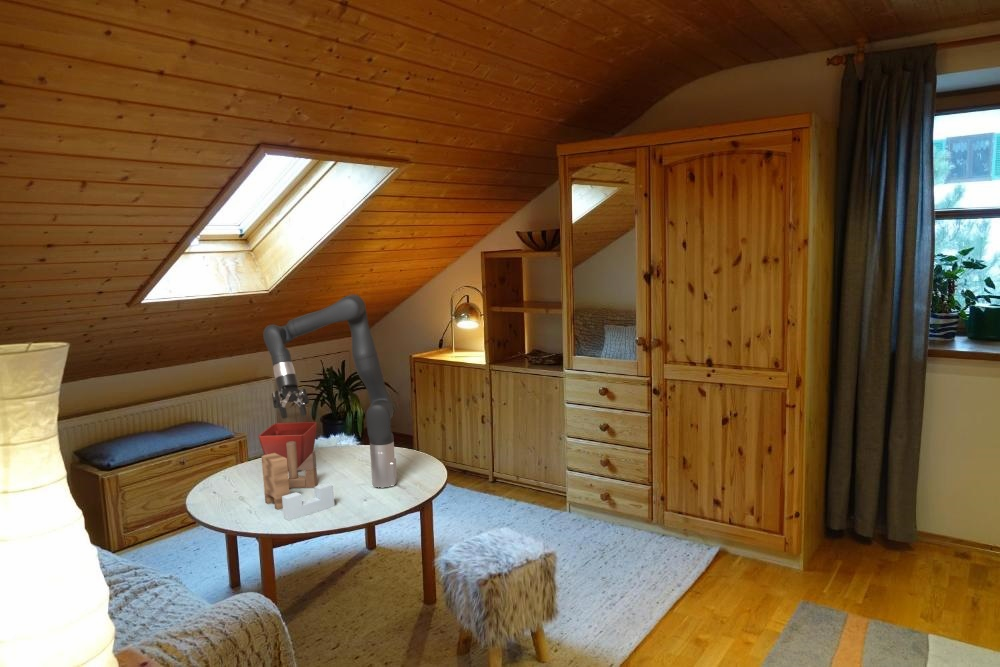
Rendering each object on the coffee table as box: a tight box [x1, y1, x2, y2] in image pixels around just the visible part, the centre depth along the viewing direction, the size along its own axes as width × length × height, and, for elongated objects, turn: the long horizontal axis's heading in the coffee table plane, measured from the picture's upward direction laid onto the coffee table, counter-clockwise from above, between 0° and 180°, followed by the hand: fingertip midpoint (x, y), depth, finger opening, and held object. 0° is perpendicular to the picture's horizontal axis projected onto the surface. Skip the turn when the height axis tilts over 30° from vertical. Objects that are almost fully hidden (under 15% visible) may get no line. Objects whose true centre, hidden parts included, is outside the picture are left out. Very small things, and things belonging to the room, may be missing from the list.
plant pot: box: [258, 421, 318, 472], centre depth 303 cm, size 19×19×17 cm
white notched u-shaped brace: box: [282, 482, 336, 522], centre depth 254 cm, size 18×4×8 cm, turn 133°
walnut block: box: [261, 453, 291, 511], centre depth 261 cm, size 10×5×18 cm, turn 43°
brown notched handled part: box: [286, 441, 318, 489], centre depth 279 cm, size 4×11×18 cm, turn 87°
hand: (294, 417), depth 267 cm, fingers open, 8 cm apart
